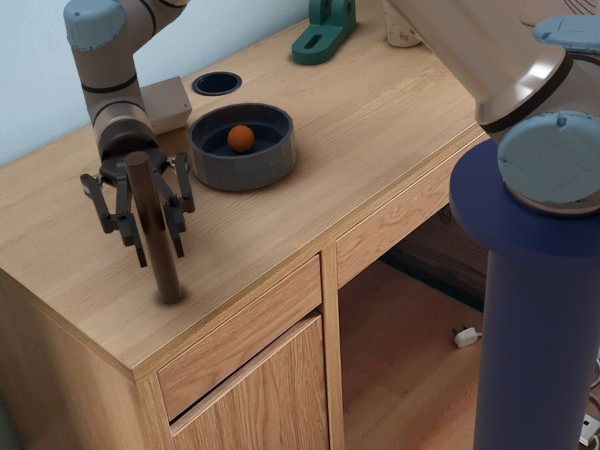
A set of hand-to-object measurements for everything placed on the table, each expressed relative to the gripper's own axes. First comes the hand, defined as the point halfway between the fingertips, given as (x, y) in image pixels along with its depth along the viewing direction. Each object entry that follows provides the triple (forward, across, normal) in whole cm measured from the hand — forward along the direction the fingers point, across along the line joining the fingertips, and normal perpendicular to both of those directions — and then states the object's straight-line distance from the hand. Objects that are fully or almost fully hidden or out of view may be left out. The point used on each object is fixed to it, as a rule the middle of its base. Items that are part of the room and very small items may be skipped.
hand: (160, 252), depth 84 cm
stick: (-6, 0, -11) cm, 13 cm away
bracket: (-63, -40, -12) cm, 75 cm away
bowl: (-30, -16, -11) cm, 36 cm away
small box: (-46, -6, -10) cm, 47 cm away
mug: (-54, -55, -12) cm, 78 cm away
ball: (-32, -17, -9) cm, 37 cm away
